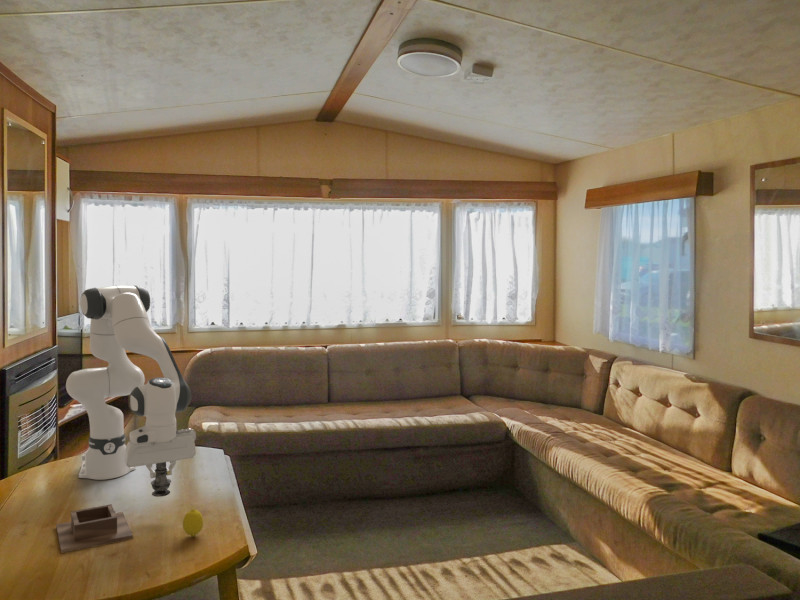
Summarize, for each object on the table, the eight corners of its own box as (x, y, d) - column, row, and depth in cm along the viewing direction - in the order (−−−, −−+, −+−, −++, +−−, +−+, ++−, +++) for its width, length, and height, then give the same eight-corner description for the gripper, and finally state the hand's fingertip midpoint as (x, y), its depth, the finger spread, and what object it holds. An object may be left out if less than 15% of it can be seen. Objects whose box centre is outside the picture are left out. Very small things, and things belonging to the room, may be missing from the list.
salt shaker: (164, 498, 190) (164, 459, 189) (146, 495, 191) (146, 457, 190) (175, 490, 196) (175, 453, 194) (158, 488, 197) (158, 451, 196)
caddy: (56, 527, 184) (56, 509, 184) (122, 515, 194) (122, 497, 194) (61, 553, 169) (60, 533, 169) (132, 538, 179) (132, 519, 178)
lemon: (185, 532, 183) (185, 505, 183) (205, 532, 184) (205, 505, 183) (180, 541, 178) (180, 513, 177) (200, 540, 178) (200, 513, 178)
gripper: (193, 424, 200) (192, 467, 201) (123, 433, 189) (123, 478, 190) (198, 430, 194) (198, 473, 196) (127, 439, 183) (127, 485, 185)
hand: (160, 475), depth 193 cm, fingers closed on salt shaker, 3 cm apart
